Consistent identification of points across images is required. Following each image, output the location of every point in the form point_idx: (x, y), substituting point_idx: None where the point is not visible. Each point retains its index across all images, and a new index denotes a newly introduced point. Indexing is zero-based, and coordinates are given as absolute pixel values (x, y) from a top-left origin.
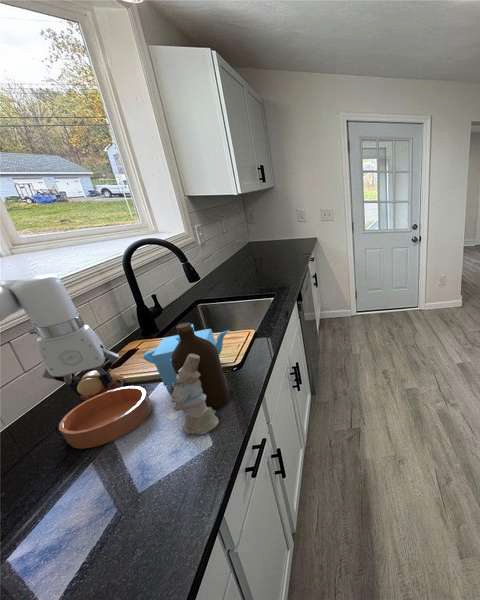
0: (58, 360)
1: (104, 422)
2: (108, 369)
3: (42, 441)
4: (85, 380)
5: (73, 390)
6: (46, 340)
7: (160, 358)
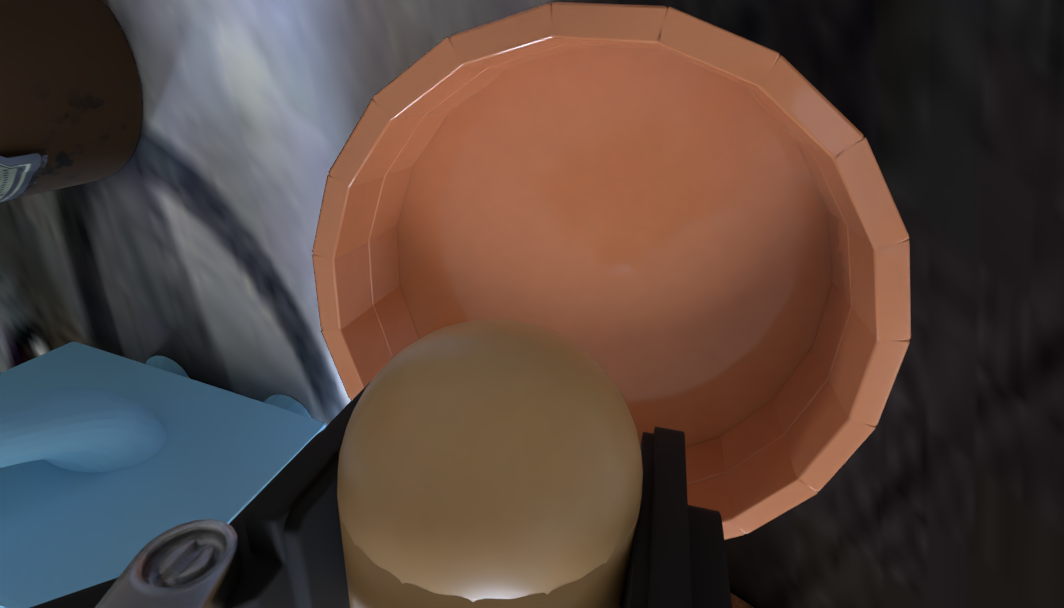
0: None
1: (639, 295)
2: (107, 586)
3: (1014, 373)
4: (435, 542)
5: (716, 540)
6: None
7: (95, 581)
